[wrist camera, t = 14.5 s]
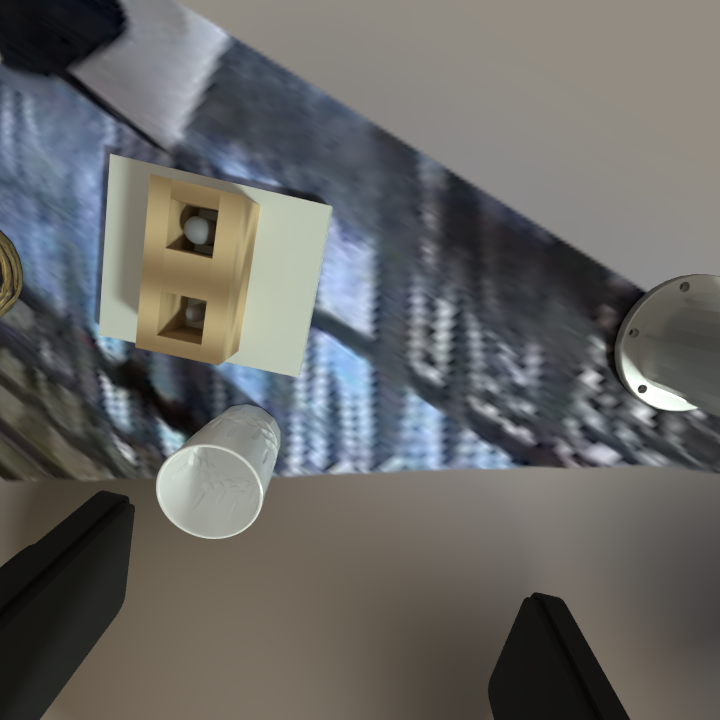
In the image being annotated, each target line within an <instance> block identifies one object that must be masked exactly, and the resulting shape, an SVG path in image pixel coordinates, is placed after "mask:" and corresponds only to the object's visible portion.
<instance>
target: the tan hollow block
mask: <svg viewBox="0 0 720 720" xmlns="http://www.w3.org/2000/svg"><path fill="white" fill-rule="evenodd" d="M199 209H203V210H207V211H211V212H216V213H218V220H217V227H216V235H215V243H214V251H213V255H212V254H207V253H203V252H198V251H194V247H195V243H193V242H191V241H190V240H189V239H188V238H187V237H186V235H185V232H184V225H185V223H186V221H187V220H188V219H189V218H191V217H194V216H198V213H199ZM259 213H260V205H258V204H256V203H254V202H253V201H251V200H249V199H248V198H246V197H244V196H242V195H238V194H234V193H229V192H225V191H221V190H217V189H212V188H208V187H204V186H200V185H195V184H191V183H187V182H183V181H179V180H174V179H170V178H166V177H162V176H157V175H153V174H150V184H149V195H148V206H147V218H146V229H145V241H144V252H143V264H142V275H141V287H140V298H139V310H138V321H137V333H136V344H135V348H140V349H145V350H149V351H154V352H159V353H163V354H168V355H173V356H178V357H182V358H187V359H192V360H196V361H201V362H206V363H210V364H215V365H220V364H221V363H223V362H224V361H225V360H227V359H228V358H230V357H231V356H232V355H234V354H235V353H237V352H238V351H239V344H240V337H241V331H242V324H243V318H244V311H245V305H246V298H247V291H248V285H249V278H250V272H251V265H252V259H253V252H254V246H255V239H256V232H257V226H258V219H259ZM189 297H191V298H195V299H200V300H205V301H207V305H206V313H205V321H204V328H203V329H200V328H196V327H191V326H186V325H185V324H186V309H187V307H188V299H189Z"/></svg>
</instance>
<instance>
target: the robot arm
mask: <svg viewBox="0 0 720 720" xmlns="http://www.w3.org/2000/svg"><path fill="white" fill-rule="evenodd" d="M615 364H616V370H617V372H618V375H619V378H620V380H621V382H622V383H623V385H624V386H625V388H626V389H627V390H628V391H629V392H630V393H631V394H632V395H633V396H634V397H635V398H637V399H639V400H641V401H642V402H644V403H646V404H648V405H651V406H653V407H655V408H658V409H662V410H667V411H686V410H693V409H697V408H700V409H703V410H705V411H707V412H710V413H712V414H715V415H717V416H719V417H720V276H715V275H706V274H703V275H700V274H692V275H687V276H680V277H677V278H674V279H671V280H668V281H665V282H664V283H662V284H660V285H658V286H656V287H655V288H653V289H651V290H650V291H649V292H648V293H646V294H645V295H644V296H642V297H641V298H640V299H639V300H638V302H637V303H636V304H635V305H634V306H633V307H632V308H631V309H630V311H629V313H628V314H627V316H626V317H625V319H624V320H623V322H622V325H621V327H620V329H619V332H618V335H617V339H616V343H615ZM134 512H135V507H134V505H132V504H129V498H128V497H127V496H125V495H121V494H116V493H112V492H108V491H104V490H103V491H100V492H98V493H96V494H95V495H94V496H93V497H91V498H90V499H89V500H88V501H87V502H85V503H84V504H83V505H82V506H81V507H79V508H78V509H77V510H76V511H74V512H73V513H72V514H71V515H70V516H68V517H67V518H66V519H65V520H63V521H62V522H61V523H60V524H59V525H57V526H56V527H55V528H54V529H53V530H51V531H50V532H49V533H48V534H46V536H44V537H43V538H42V539H40V540H39V541H38V542H37V543H36V544H32V545H29V546H28V547H26V548H25V549H23V550H22V551H20V552H19V553H18V554H16V555H15V556H14V557H13V558H11V559H10V560H9V561H8V562H7V563H5V564H4V565H3V566H2V567H0V720H40V718H41V717H42V716H43V714H44V713H45V712H46V710H47V709H48V708H49V706H50V705H51V704H52V702H53V701H54V700H55V698H56V697H57V695H58V694H59V693H60V691H61V690H62V689H63V687H64V686H65V685H66V683H67V682H68V680H69V679H70V678H71V676H72V675H73V673H74V672H75V671H76V670H77V668H78V667H79V666H80V664H81V663H82V662H83V660H84V659H85V657H86V656H87V655H88V653H89V652H90V651H91V649H92V648H93V647H94V645H95V644H96V643H97V641H98V640H99V638H100V637H101V636H102V634H103V633H104V632H105V630H106V629H107V628H108V626H109V625H110V624H111V622H112V621H113V620H114V618H115V617H116V615H117V614H118V612H119V610H120V609H121V607H122V604H123V602H124V599H125V591H126V583H127V575H128V566H129V557H130V548H131V538H132V530H133V522H134ZM488 694H489V701H490V705H491V709H492V713H493V717H494V720H630V718H629V717H628V715H627V713H626V711H625V709H624V708H623V706H622V704H621V702H620V701H619V699H618V697H617V695H616V693H615V691H614V690H613V688H612V686H611V684H610V682H609V681H608V679H607V677H606V675H605V674H604V672H603V670H602V668H601V666H600V665H599V663H598V661H597V659H596V657H595V656H594V654H593V652H592V650H591V648H590V647H589V645H588V643H587V641H586V640H585V638H584V636H583V635H582V632H581V631H580V629H579V627H578V625H577V623H576V622H575V620H574V618H573V616H572V614H571V613H570V611H569V609H568V607H567V606H566V604H565V602H564V601H563V600H562V599H561V598H558V597H554V596H550V595H546V594H542V593H533V594H532V595H531V597H530V598H529V597H527V598H525V599H524V601H523V603H522V605H521V607H520V610H519V612H518V615H517V617H516V619H515V622H514V624H513V626H512V629H511V631H510V633H509V636H508V638H507V641H506V643H505V645H504V647H503V650H502V652H501V654H500V657H499V659H498V661H497V664H496V666H495V669H494V671H493V674H492V676H491V678H490V681H489V687H488Z"/></svg>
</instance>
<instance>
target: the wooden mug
mask: <svg viewBox="0 0 720 720" xmlns="http://www.w3.org/2000/svg"><path fill="white" fill-rule="evenodd" d="M22 285H23V271H22V266H21V262H20V258H19V256H18V254H17V252H16V249H15V247H14V245H13V244H12V243H11V242H10V241H9V240H8V239H7V238H6V237H5V236H4V235H3V234H2V233H1V232H0V316H3V315H4V314H5V313H7V312H8V311H9V310H10V309H12V308H13V306H14V304H15V302H16V300H17V298H18V296H19V294H20V292H21V288H22Z"/></svg>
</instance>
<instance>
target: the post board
mask: <svg viewBox="0 0 720 720" xmlns="http://www.w3.org/2000/svg"><path fill="white" fill-rule="evenodd" d="M150 174H153V175H157V176H162V177H166V178H170V179H174V180H179V181H183V182H187V183H191V184H195V185H200V186H204V187H208V188H212V189H217V190H221V191H225V192H229V193H234V194H238V195H242V196H244V197H246V198H248V199H249V200H251V201H253V202H254V203H256V204H258V205H260V213H259V219H258V226H257V232H256V239H255V246H254V252H253V259H252V265H251V272H250V278H249V285H248V291H247V298H246V305H245V311H244V318H243V324H242V331H241V337H240V344H239V351H238V352H237V353H235V354H234V355H232V356H231V357H230V358H228V359H227V360H225V361H224V362H228V363H233V364H238V365H243V366H247V367H252V368H257V369H261V370H266V371H271V372H276V373H280V374H285V375H290V376H294V377H299V375H300V374H301V370H302V365H303V359H304V354H305V349H306V344H307V339H308V334H309V329H310V323H311V318H312V313H313V308H314V303H315V298H316V292H317V287H318V282H319V277H320V272H321V267H322V261H323V256H324V251H325V246H326V241H327V236H328V230H329V225H330V220H331V215H332V210H333V208H332V206H329V205H325V204H320V203H316V202H312V201H308V200H304V199H299V198H295V197H291V196H287V195H282V194H278V193H274V192H270V191H266V190H261V189H257V188H253V187H249V186H244V185H240V184H236V183H232V182H228V181H223V180H219V179H215V178H211V177H206V176H202V175H198V174H194V173H190V172H185V171H181V170H177V169H173V168H168V167H164V166H160V165H156V164H152V163H147V162H143V161H139V160H135V159H130V158H126V157H122V156H118V155H114V154H110V164H109V180H108V195H107V211H106V227H105V243H104V259H103V275H102V291H101V306H100V322H99V335H101V336H106V337H111V338H115V339H120V340H125V341H130V342H134V343H136V333H137V321H138V310H139V298H140V287H141V275H142V264H143V252H144V241H145V229H146V218H147V206H148V195H149V184H150ZM217 220H218V213H216V212H211V211H207V210H203V209H199V213H198V216H194V217H191V218H189V219H188V220H187V221H186V223H185V225H184V232H185V235H186V237H187V238H188V239H189V240H190V241H191V242H193V243H195V247H194V251H198V252H203V253H207V254H212V255H213V251H214V243H215V235H216V227H217ZM206 305H207V301H205V300H200V299H195V298H191V297H189V299H188V307H187V309H186V324H185V325H186V326H191V327H196V328H200V329H203V328H204V321H205V313H206Z"/></svg>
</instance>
